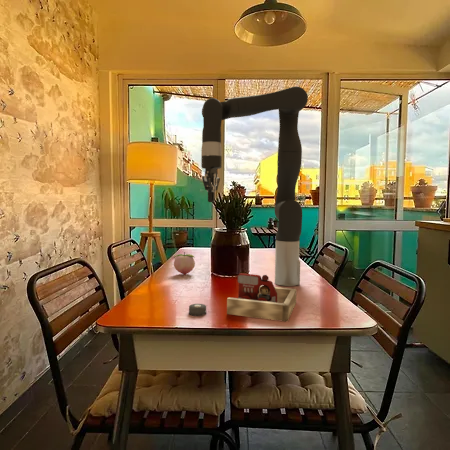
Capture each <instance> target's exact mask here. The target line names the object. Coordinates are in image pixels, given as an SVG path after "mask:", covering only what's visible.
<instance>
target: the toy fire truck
mask: <svg viewBox="0 0 450 450" xmlns="http://www.w3.org/2000/svg"><path fill="white" fill-rule="evenodd" d="M269 278H270V277H269V276H268V275H267V274H263V275H262V276H261V275H259V274H251V273H243V272H241V273H239V274H238V275H237V278H236V280H237V283H238V295H237V296H238V297H237V298H239V299H249V300H258V301H267V302H276V303H278V302H277V292H276V290H275V287H276V286H274V283H273V282H272V281H271V280H270V279H269ZM260 286H261V288H260V293H261V294H259V287H260ZM269 291H270V295H269ZM258 294H259V298H258Z"/></svg>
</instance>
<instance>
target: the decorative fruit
mask: <svg viewBox="0 0 450 450" xmlns="http://www.w3.org/2000/svg"><path fill="white" fill-rule="evenodd" d="M185 253H186V252H183V254H182V253H179V254H176V255H174V257H173V258H175V259H174V260H173V268H174V269H175V270H176V271H177V272H178V273H180V274H181V275H188V274H189V273H190V272H192V271H193V269H194V268H195V266H196V265H195V264H196V262H195V258H196V257H195V255H193V254H191V253H188V254H185Z"/></svg>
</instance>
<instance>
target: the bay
mask: <svg viewBox="0 0 450 450" xmlns="http://www.w3.org/2000/svg"><path fill="white" fill-rule="evenodd" d="M274 287H275V290H276V292H277V303H276V302H267V301H258V300H249V299H239V298H238V297H227V299H226V315H232V316H239V317H241V316H242V317H249V318H257V319H262V320H263V319H264V320H270V319H271V320H272V321H278V320H282V321H281V322H286V321H288V322H289V320H290V318H291V316H290V315H292V313H293V311H294V309H295V307H296V303H297V288H289V287H280V286H278V287H276V286H274ZM260 288H261V286H260V287H259V294H261V293H260ZM259 294H258V298H259ZM269 295H270V291H269ZM293 308H294V309H293ZM289 317H290V318H289ZM288 319H289V320H288Z"/></svg>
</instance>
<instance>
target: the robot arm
mask: <svg viewBox="0 0 450 450" xmlns="http://www.w3.org/2000/svg"><path fill="white" fill-rule="evenodd" d="M308 99H309V98H308V92H307V91H306V90H305V89H304V88H303V87H300V86H291V87H288V88H284V89H281V90H277V91H273V92H269V93H263V94H256V95H247V96H237V97H232V98H228V99H227V100H225V101H220V100H219V99H217V98H214V97H210V98H208V99H206V101H204V102H203V105H202V109H201V115H202V121H203V122H202V123H203V126H202V133H201V135H202V137H201V138H202V139H201V141H202V144H201V150H200V151H201V159H200V161H201V162H200V163H201V165H200V166H201V168H202V169H203V170H204V175H202V176H201V180H202V183H203V186H204V190H205V191H206V192H207V202H208V203H215V202H216V200H215V198H216V195H215V194H216V191H218V189H219V185H220V181H221V178H220V177H219V173H218V170H221V169H222V164H223V163H222V161H223V160H222V157H223V156H222V155H223V154H222V152H223V150H222V128H221V127H222V121H224V120H228V119H232V118H242V117H243V118H245V117H250V116H255V115H258V114H262V113H265V112H270V111H271V112H272V111H277V110H278V120H279V121H278V122H279V132H278V143H277V144H278V146H277V147H278V148H277V171H276V173H277V174H276V176H277V190H276V198H275V204H274V215H275V218H276V219H278V223H277V231H276V233H275V252H274V253H275V254H274V255H275V260H274V263H275V264H274V265H275V266H274V284H275V285H277V286H283V287H284V286H285V287H294V286H300V285H301V284H300V283H301V260H300V238H301V235H302V228H303V208H302V205H301V203H299V202H298V201H297V200H296V186H297V182H298V179H299V176H300V172H301V169H302V168H301V167H302V161H303V159H302V158H303V156H302V155H303V148H302V142H301V138H300V134H299V129H298V128H299V124H298V123H299V115H300V112H301V111H302V110H303V109H304V108H306V106H307V103H308V101H309V100H308Z"/></svg>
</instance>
